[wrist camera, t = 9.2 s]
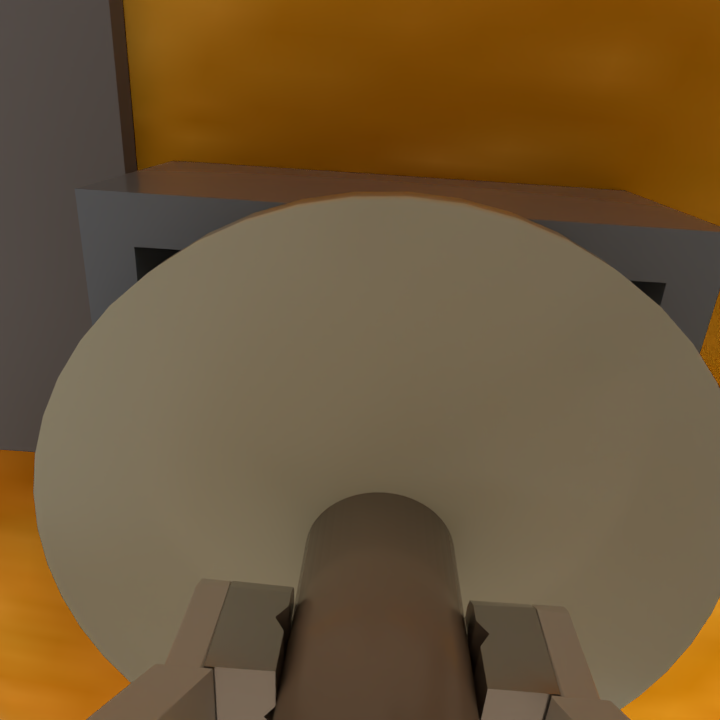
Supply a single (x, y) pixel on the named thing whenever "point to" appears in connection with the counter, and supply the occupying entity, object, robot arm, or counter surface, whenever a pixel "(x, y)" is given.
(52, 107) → the mat
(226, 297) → the lid
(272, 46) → the counter surface
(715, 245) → the grey storage tray
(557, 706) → the robot arm
